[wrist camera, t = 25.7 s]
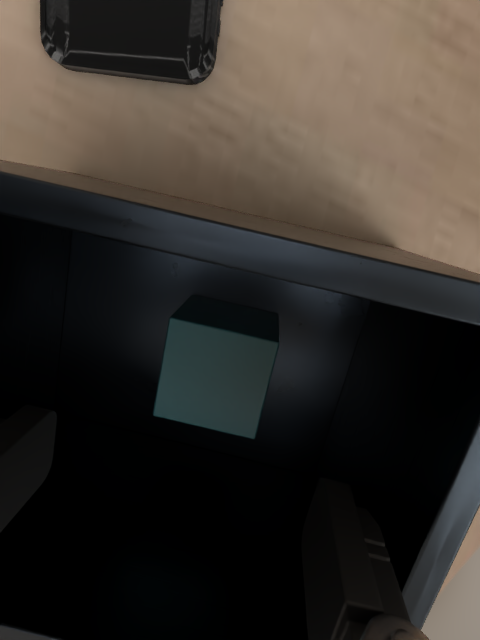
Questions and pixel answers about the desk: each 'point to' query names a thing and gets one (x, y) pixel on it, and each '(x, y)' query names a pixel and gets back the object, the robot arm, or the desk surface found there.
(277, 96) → the desk surface
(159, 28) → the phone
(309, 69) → the desk surface
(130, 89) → the desk surface
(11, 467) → the robot arm
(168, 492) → the bin
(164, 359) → the block
